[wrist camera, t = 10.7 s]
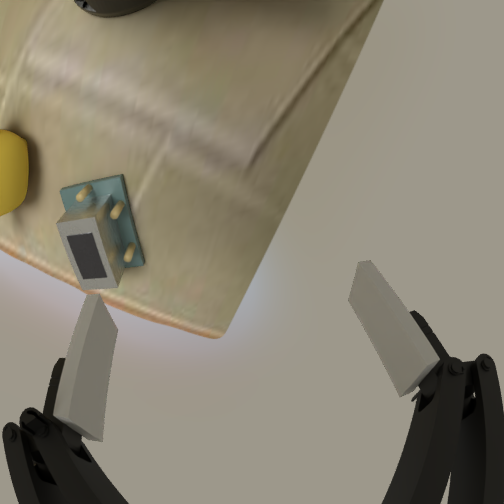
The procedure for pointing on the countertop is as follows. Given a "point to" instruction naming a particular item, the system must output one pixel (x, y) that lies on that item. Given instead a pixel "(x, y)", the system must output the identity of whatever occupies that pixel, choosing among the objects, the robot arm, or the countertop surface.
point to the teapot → (12, 171)
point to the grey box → (93, 242)
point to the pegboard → (119, 212)
